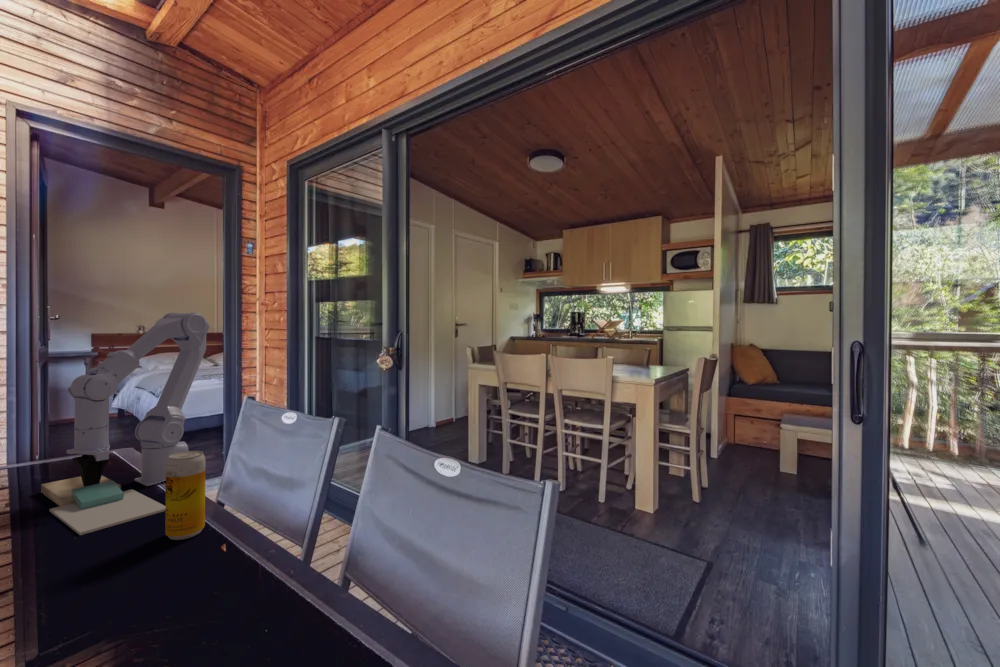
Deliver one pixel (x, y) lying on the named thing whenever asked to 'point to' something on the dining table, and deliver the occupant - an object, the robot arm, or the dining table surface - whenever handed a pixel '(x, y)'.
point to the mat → (107, 512)
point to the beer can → (185, 495)
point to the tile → (97, 494)
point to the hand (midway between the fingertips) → (91, 487)
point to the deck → (65, 489)
